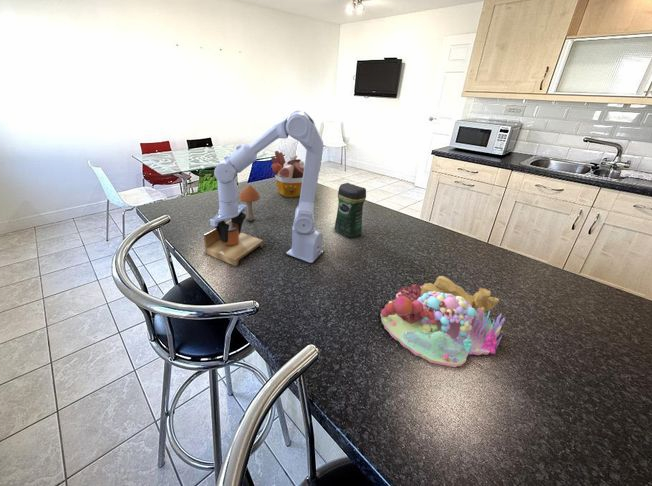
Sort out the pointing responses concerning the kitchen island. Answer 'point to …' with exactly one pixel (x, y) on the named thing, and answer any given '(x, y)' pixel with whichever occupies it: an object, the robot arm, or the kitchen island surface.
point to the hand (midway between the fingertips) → (230, 237)
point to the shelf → (230, 246)
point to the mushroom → (249, 200)
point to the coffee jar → (350, 209)
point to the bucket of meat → (288, 174)
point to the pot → (232, 234)
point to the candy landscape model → (443, 322)
